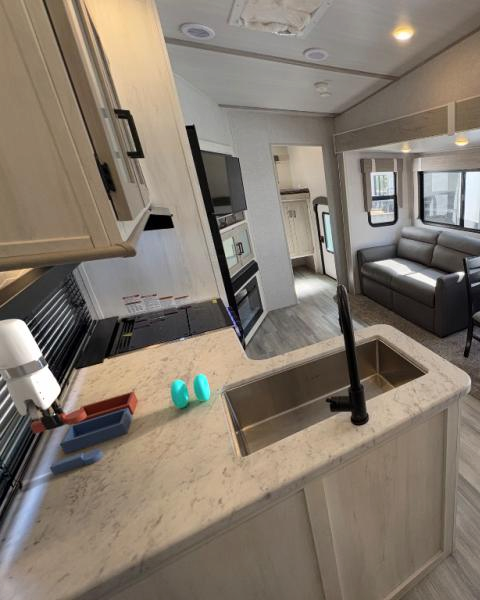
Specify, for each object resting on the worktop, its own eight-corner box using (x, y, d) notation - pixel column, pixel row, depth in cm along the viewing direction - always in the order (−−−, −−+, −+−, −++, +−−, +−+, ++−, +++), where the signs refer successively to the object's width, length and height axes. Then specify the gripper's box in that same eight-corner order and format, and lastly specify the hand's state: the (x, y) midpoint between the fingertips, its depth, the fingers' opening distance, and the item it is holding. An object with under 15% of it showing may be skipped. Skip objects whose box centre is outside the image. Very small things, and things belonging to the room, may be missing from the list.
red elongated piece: (32, 436, 80) (27, 428, 79) (39, 427, 84) (34, 419, 83) (84, 420, 85) (79, 412, 84) (88, 412, 88) (84, 404, 87)
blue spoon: (52, 478, 84) (47, 470, 83) (58, 467, 88) (53, 460, 87) (101, 460, 89) (97, 453, 88) (104, 451, 93) (101, 444, 92)
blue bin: (65, 454, 92) (59, 444, 91) (75, 435, 99) (70, 425, 98) (127, 433, 99) (122, 423, 98) (132, 417, 106) (128, 407, 105)
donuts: (209, 405, 110) (201, 381, 107) (176, 415, 106) (167, 391, 103) (211, 390, 119) (204, 368, 115) (180, 398, 115) (172, 376, 111)
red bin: (77, 431, 101) (72, 421, 100) (85, 416, 108) (81, 406, 107) (133, 414, 108) (129, 404, 107) (137, 400, 115) (133, 391, 114)
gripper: (19, 358, 82) (50, 413, 89) (-17, 388, 69) (23, 450, 76) (57, 349, 85) (85, 403, 92) (30, 377, 72) (64, 437, 79)
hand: (57, 424), depth 84 cm, fingers closed on red elongated piece
